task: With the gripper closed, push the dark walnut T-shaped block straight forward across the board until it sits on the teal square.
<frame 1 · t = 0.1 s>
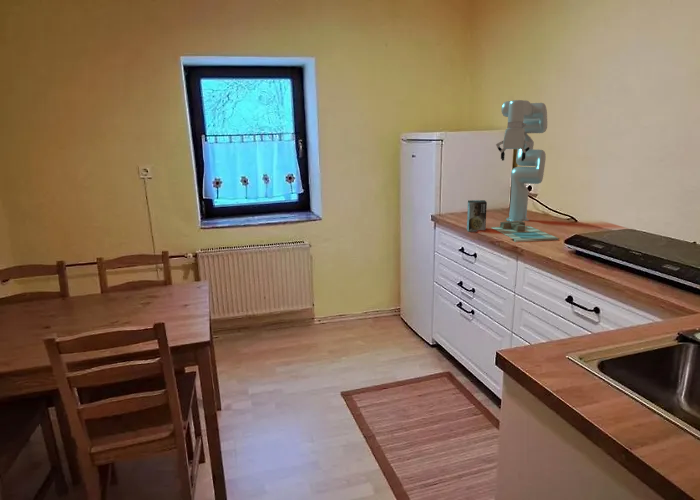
hand: (512, 160, 231), 37 cm above the worktop, tool pointing down, fingers open, 9 cm apart
t block: (515, 229, 240), point 1 cm above the worktop, touching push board
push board: (522, 234, 233), on the worktop
coffee box: (475, 230, 244), on the worktop
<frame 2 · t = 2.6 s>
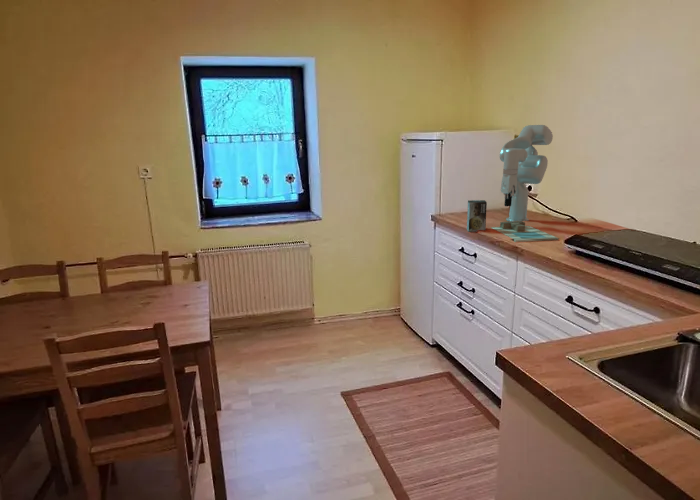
hand: (507, 206, 248), 12 cm above the worktop, tool pointing down, fingers closed
nothing on the worktop moved.
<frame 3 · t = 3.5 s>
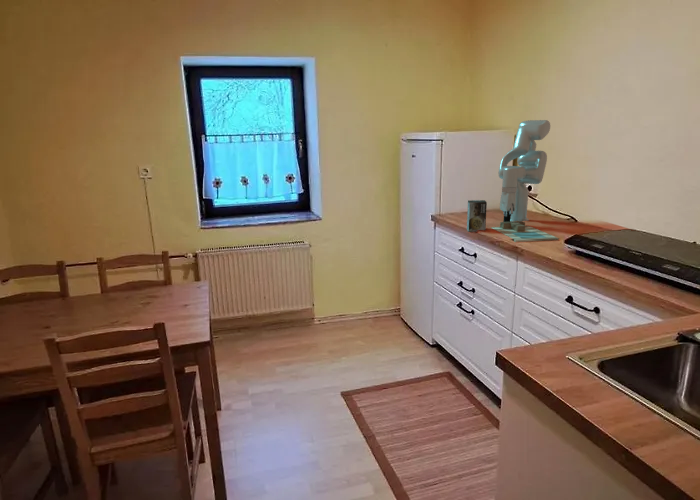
hand: (506, 223, 250), 2 cm above the worktop, tool pointing down, fingers closed
nothing on the worktop moved.
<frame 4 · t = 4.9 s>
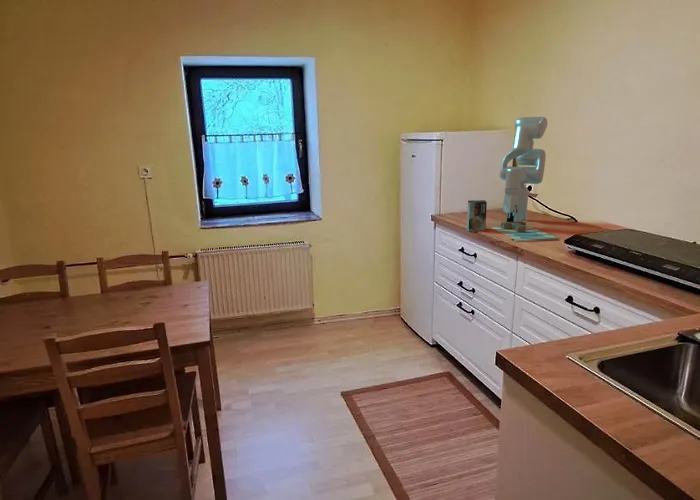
hand: (509, 224, 247), 2 cm above the worktop, tool pointing down, fingers closed
t block: (516, 229, 239), point 1 cm above the worktop, touching gripper, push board
everything else where it was.
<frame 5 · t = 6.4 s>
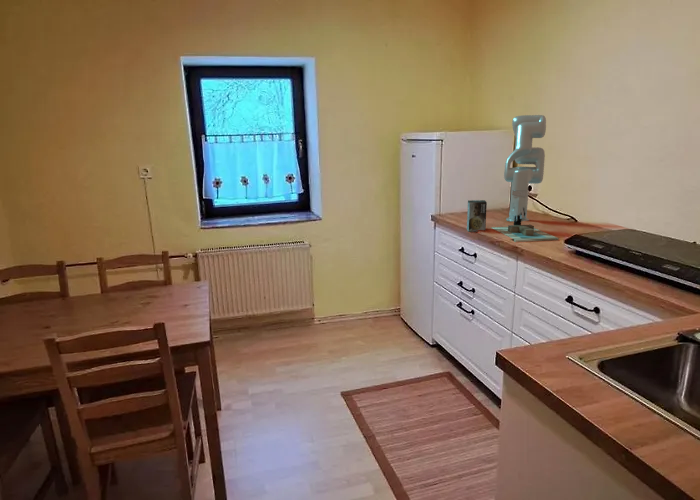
hand: (517, 228, 239), 2 cm above the worktop, tool pointing down, fingers closed
t block: (524, 233, 231), point 1 cm above the worktop, touching gripper, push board
everything else where it was.
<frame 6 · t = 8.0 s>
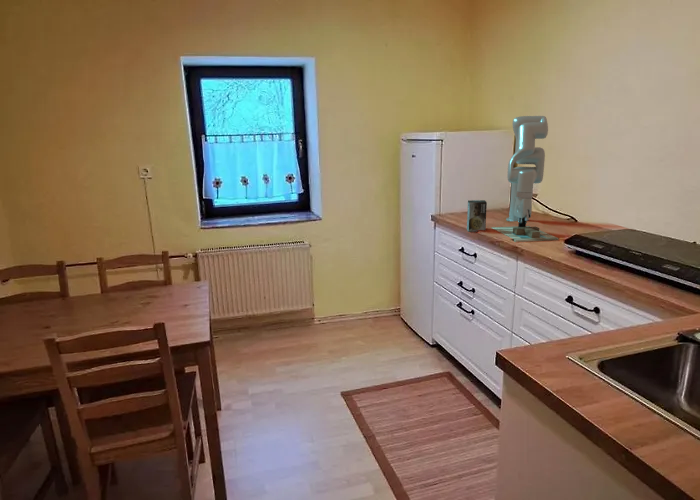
hand: (521, 230, 234), 2 cm above the worktop, tool pointing down, fingers closed
t block: (529, 235, 226), point 1 cm above the worktop, touching gripper, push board
everything else where it was.
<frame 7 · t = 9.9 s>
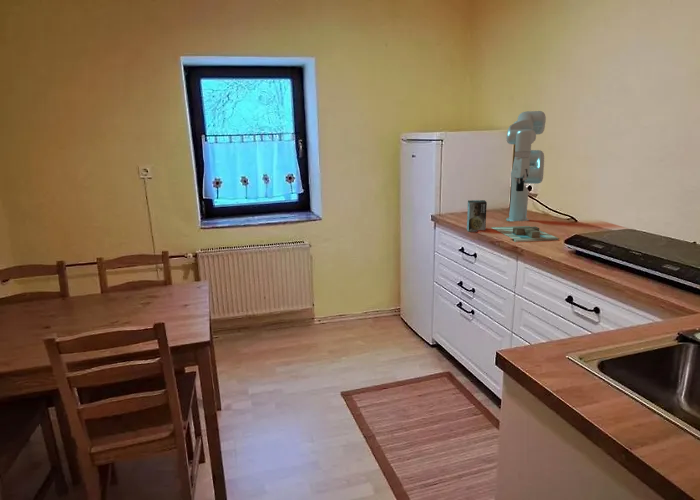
hand: (519, 191, 234), 22 cm above the worktop, tool pointing down, fingers closed
t block: (529, 235, 226), point 1 cm above the worktop, touching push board
everything else where it was.
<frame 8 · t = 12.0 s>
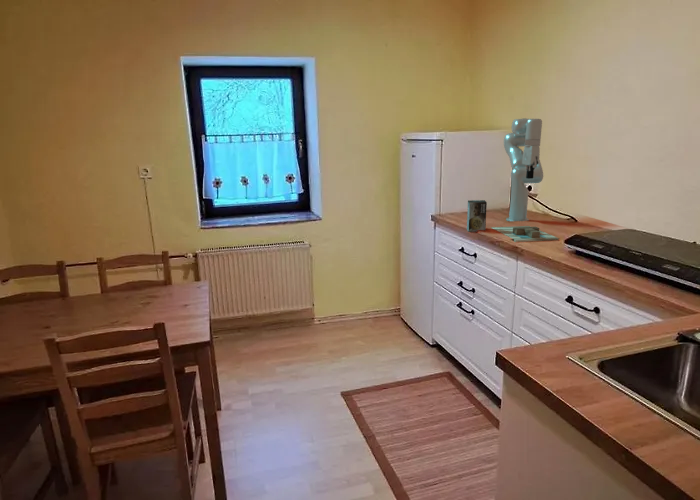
hand: (529, 178, 241), 27 cm above the worktop, tool pointing down, fingers closed
nothing on the worktop moved.
at the end: t block 0.6 cm from the target spot on the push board, point 1.0 cm above the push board's base; t block tilted 0° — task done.
